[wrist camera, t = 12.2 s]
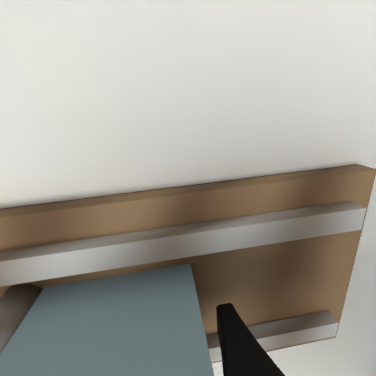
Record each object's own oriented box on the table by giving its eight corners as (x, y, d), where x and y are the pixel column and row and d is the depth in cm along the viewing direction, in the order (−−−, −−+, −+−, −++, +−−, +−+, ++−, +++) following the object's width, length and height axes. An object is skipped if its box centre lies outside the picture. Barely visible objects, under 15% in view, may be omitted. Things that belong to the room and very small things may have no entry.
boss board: (358, 164, 11) (505, 202, 6) (324, 323, 15) (398, 416, 11) (-56, 216, 9) (-282, 324, 4) (37, 381, 13) (-29, 527, 9)
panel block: (190, 263, 10) (216, 383, 6) (196, 325, 12) (219, 459, 7) (44, 286, 10) (-59, 443, 5) (71, 349, 11) (10, 513, 7)
